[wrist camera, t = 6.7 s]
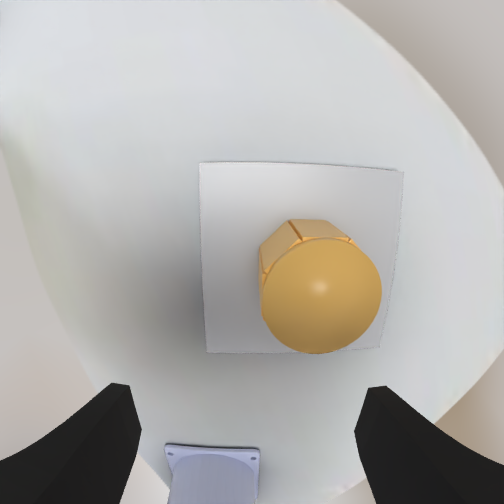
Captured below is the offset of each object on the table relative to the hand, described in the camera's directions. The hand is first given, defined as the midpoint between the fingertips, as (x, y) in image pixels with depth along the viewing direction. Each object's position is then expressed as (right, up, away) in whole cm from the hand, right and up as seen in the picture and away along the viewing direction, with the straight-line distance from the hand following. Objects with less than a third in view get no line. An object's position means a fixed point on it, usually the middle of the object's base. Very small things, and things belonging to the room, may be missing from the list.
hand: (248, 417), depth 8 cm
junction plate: (+3, +4, +9) cm, 10 cm away
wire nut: (+3, +4, +8) cm, 10 cm away
